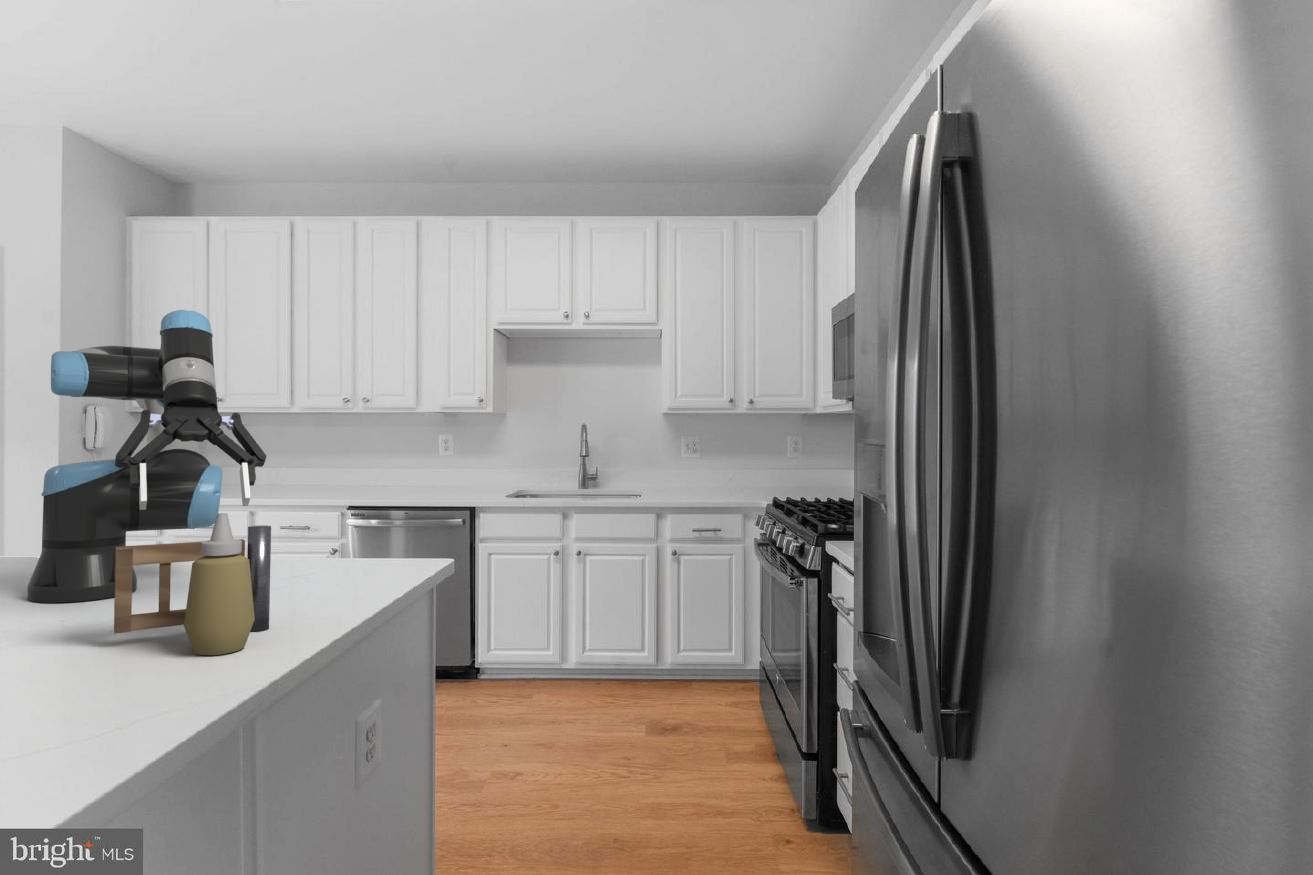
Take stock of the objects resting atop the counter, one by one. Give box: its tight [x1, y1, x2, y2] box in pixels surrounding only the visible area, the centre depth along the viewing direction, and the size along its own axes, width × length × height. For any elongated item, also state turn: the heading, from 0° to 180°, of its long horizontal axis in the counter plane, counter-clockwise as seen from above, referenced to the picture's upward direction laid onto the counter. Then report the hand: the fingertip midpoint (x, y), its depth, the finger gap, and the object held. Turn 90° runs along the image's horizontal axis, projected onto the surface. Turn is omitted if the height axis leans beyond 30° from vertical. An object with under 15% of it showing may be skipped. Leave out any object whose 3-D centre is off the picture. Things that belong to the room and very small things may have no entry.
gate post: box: [246, 524, 272, 633], centre depth 109 cm, size 3×3×15 cm
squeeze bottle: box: [183, 512, 255, 656], centre depth 98 cm, size 8×8×18 cm
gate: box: [113, 538, 246, 635], centre depth 103 cm, size 2×15×11 cm, turn 128°
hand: (196, 503), depth 114 cm, fingers open, 13 cm apart
